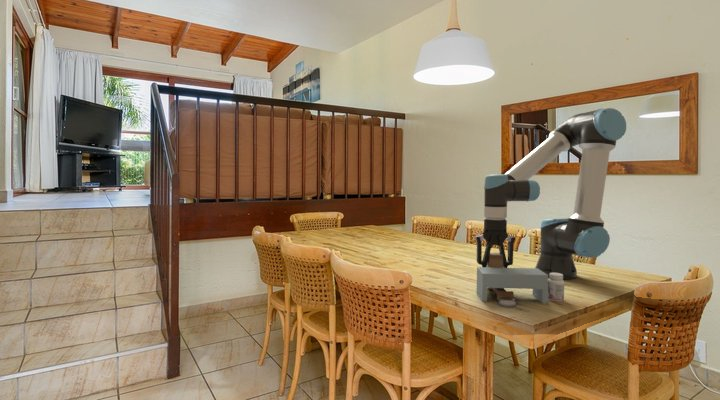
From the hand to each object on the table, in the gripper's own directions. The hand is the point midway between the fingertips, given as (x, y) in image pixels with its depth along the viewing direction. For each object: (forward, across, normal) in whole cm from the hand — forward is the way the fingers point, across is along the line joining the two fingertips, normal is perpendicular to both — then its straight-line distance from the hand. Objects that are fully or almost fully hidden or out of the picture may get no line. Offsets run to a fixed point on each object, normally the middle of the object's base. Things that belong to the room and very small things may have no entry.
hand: (494, 283), depth 136 cm
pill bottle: (+2, -17, +10) cm, 20 cm away
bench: (+2, -3, +10) cm, 10 cm away
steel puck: (+2, 0, +17) cm, 17 cm away
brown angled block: (+1, 0, +6) cm, 6 cm away
